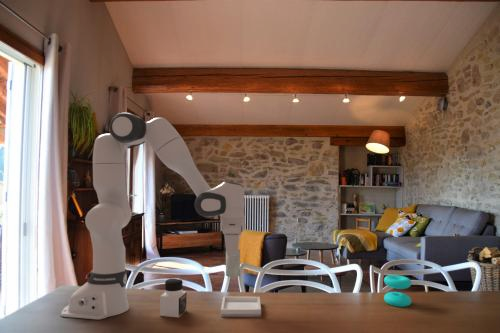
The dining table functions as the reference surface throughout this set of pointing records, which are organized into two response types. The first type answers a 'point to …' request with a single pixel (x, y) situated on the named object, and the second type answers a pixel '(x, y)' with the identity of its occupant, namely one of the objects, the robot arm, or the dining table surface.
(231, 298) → the grey tray
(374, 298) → the dining table surface
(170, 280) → the medicine bottle
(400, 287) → the donuts
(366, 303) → the dining table surface
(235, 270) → the sage cup
